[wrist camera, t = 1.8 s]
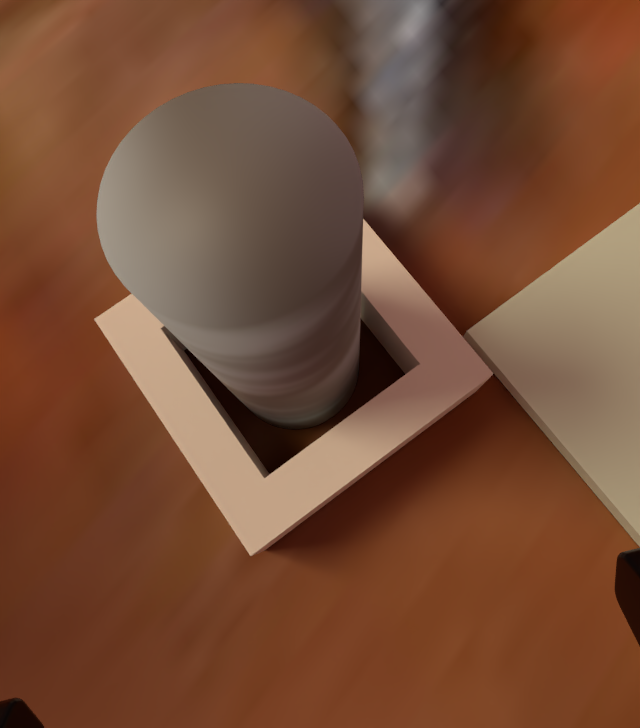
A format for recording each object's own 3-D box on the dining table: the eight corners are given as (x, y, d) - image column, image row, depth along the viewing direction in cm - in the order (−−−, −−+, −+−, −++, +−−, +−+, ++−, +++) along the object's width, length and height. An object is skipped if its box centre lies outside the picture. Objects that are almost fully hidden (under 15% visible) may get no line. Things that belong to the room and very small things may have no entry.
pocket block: (264, 550, 22) (250, 556, 19) (125, 342, 24) (93, 319, 21) (476, 391, 23) (493, 373, 20) (323, 205, 25) (319, 166, 22)
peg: (280, 455, 23) (189, 382, 10) (209, 354, 24) (48, 177, 11) (384, 378, 23) (419, 220, 11) (310, 283, 24) (262, 39, 12)
